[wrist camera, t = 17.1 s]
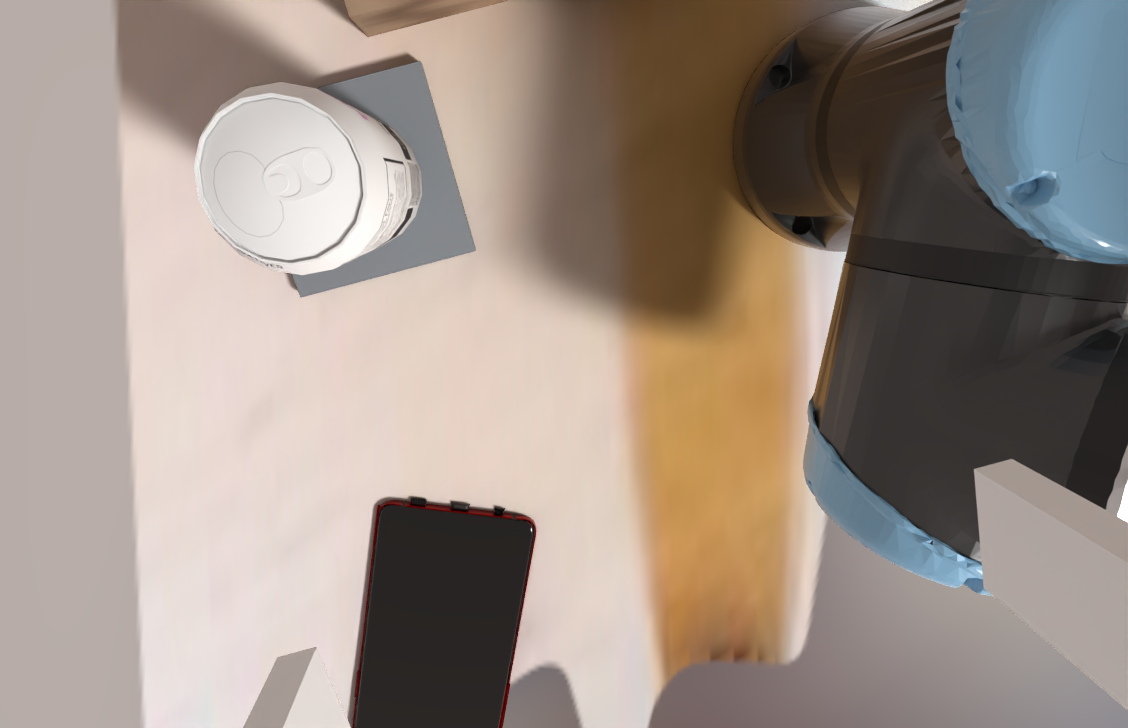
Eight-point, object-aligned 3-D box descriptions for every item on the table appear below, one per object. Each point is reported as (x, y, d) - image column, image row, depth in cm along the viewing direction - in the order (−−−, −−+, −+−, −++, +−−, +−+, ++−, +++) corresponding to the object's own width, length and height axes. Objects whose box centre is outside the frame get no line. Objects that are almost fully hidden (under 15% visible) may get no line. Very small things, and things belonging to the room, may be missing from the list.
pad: (421, 63, 41) (420, 61, 40) (475, 249, 45) (475, 251, 44) (237, 112, 41) (230, 110, 40) (305, 294, 45) (300, 297, 44)
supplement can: (328, 266, 43) (238, 306, 29) (269, 142, 41) (140, 118, 27) (443, 221, 43) (410, 240, 29) (390, 94, 41) (326, 45, 26)
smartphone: (541, 517, 50) (493, 783, 56) (540, 507, 51) (493, 768, 57) (376, 497, 48) (344, 774, 54) (380, 488, 50) (349, 758, 56)
